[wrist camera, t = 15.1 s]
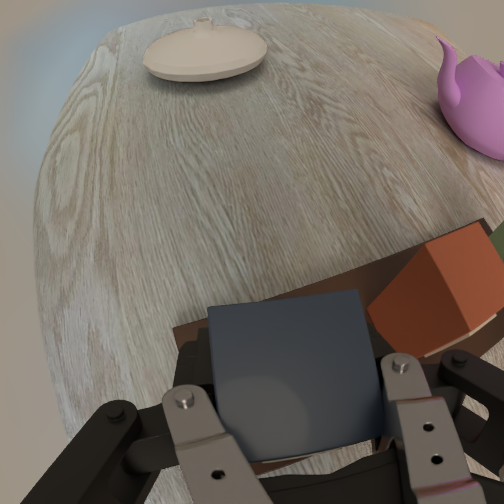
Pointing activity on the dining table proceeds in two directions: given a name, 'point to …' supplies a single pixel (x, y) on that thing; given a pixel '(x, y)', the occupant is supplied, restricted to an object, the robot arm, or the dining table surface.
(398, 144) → the dining table surface
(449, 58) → the teapot
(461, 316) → the orange block
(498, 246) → the green block
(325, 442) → the navy box with label
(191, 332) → the brown board
